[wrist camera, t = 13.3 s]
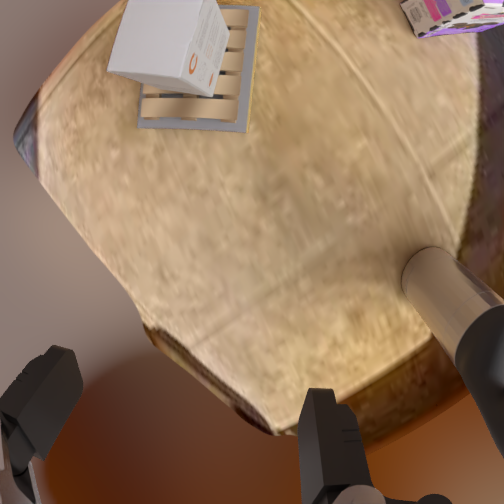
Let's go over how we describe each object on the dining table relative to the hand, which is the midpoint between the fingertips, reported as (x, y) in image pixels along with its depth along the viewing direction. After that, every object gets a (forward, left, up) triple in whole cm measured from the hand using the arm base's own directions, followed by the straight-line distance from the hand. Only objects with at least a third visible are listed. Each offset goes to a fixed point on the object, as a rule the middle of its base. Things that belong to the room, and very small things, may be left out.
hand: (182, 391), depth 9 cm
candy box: (-25, -31, -32) cm, 51 cm away
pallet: (+7, -16, -29) cm, 34 cm away
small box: (+7, -16, -28) cm, 33 cm away
